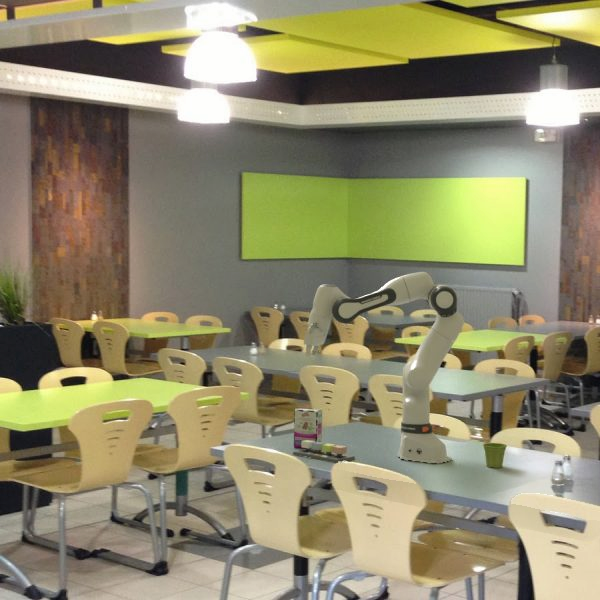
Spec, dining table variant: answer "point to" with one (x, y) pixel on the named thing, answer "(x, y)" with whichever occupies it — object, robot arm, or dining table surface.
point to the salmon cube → (339, 450)
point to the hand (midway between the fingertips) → (310, 355)
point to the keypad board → (323, 455)
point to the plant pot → (494, 454)
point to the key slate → (317, 446)
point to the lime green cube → (328, 448)
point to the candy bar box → (307, 426)
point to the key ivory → (307, 444)
